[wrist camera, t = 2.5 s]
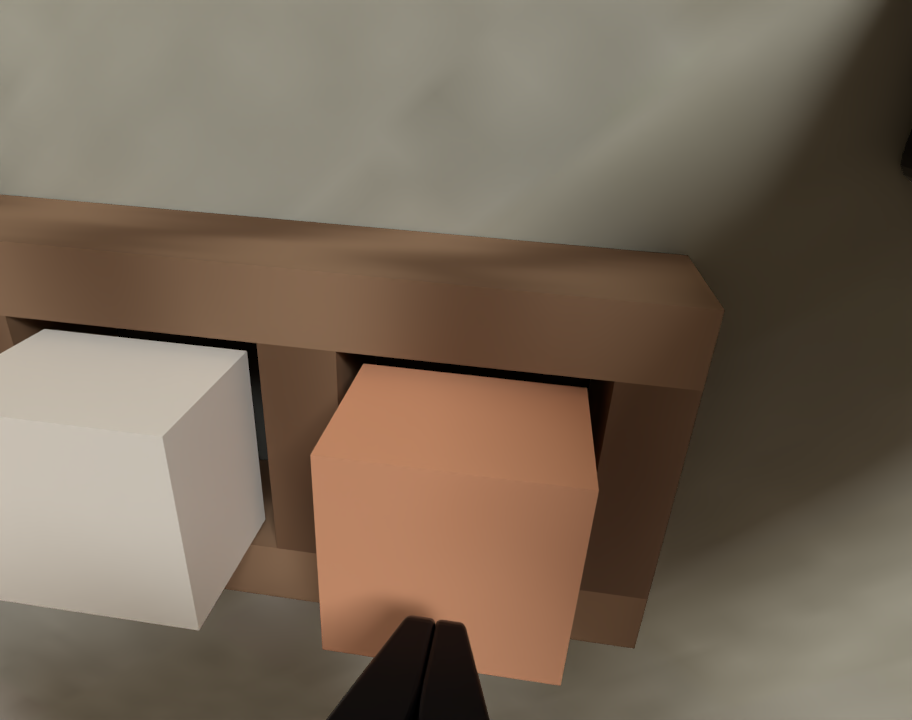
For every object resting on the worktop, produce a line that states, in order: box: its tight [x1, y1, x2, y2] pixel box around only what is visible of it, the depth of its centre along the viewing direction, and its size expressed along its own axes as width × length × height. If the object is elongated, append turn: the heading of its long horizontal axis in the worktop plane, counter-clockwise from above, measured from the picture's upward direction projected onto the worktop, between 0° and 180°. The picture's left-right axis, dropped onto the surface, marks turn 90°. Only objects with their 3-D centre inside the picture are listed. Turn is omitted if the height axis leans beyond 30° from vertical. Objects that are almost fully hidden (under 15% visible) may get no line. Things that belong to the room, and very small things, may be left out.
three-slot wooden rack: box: [0, 195, 725, 648], centre depth 14 cm, size 21×8×3 cm, turn 87°
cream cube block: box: [0, 329, 265, 630], centre depth 12 cm, size 4×4×3 cm
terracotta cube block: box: [310, 364, 599, 686], centre depth 11 cm, size 4×4×3 cm
